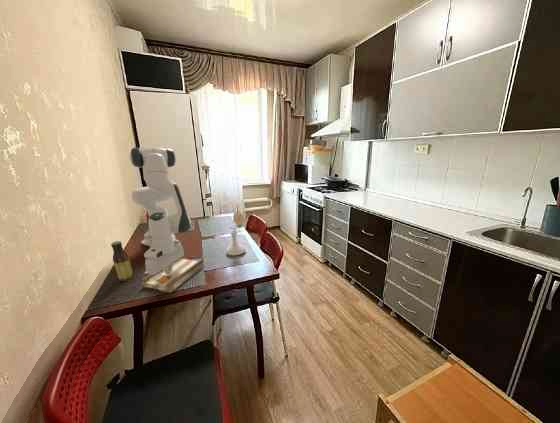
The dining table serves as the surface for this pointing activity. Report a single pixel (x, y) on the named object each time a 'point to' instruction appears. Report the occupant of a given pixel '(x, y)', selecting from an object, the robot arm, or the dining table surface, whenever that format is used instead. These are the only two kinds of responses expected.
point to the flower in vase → (235, 247)
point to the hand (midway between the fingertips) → (169, 273)
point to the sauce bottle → (121, 262)
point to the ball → (163, 279)
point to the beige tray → (173, 275)
